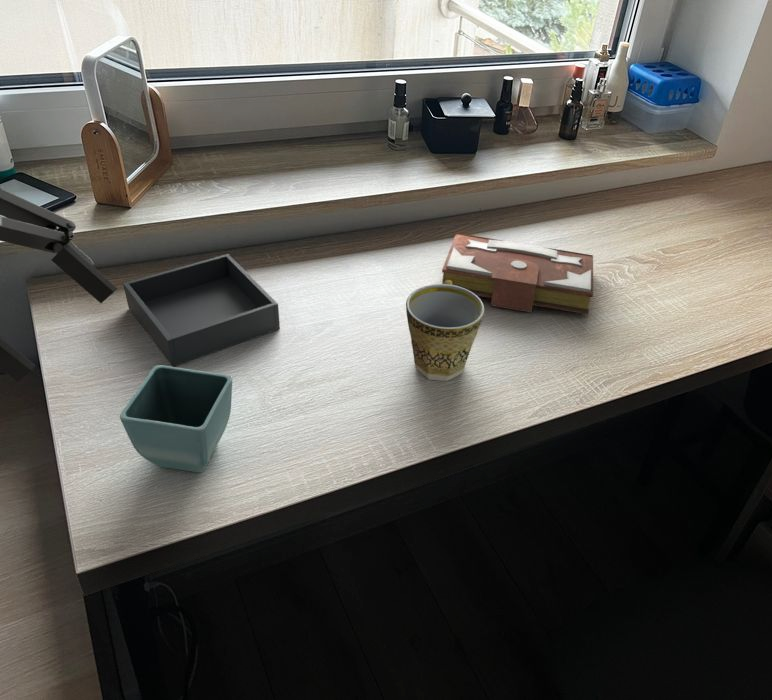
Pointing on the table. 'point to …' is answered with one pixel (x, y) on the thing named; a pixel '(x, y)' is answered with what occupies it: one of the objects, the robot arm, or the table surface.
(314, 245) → the table surface
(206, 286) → the tote
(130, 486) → the table surface
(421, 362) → the ceramic cup
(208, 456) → the flower pot
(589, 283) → the book
